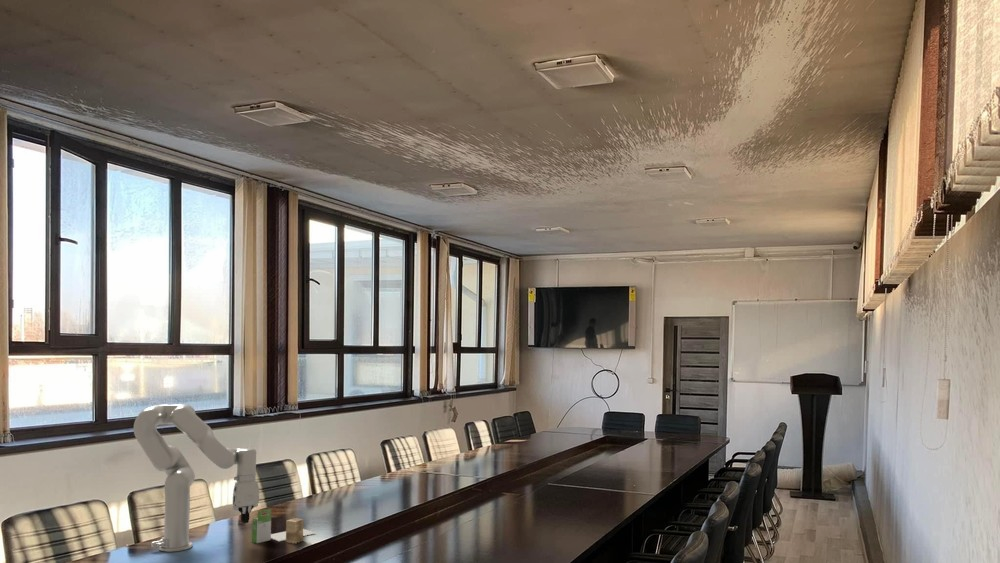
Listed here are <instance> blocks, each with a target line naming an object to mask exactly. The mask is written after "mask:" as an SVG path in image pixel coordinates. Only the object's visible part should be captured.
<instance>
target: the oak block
mask: <svg viewBox="0 0 1000 563" xmlns="http://www.w3.org/2000/svg"><path fill="white" fill-rule="evenodd" d="M285 525H286V526H285V531H286V540H285V542H286V543H289V544H294V543H295V544H298V543H300V541H301V542H303V541H304V537H303V529H304V519H302V518H297V517H294V518H291V519H286V523H285ZM297 542H298V543H297Z"/></svg>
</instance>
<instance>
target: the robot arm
mask: <svg viewBox="0 0 1000 563" xmlns="http://www.w3.org/2000/svg"><path fill="white" fill-rule="evenodd" d="M164 425H166V426H167V425H170V426H171V425H173V426H175V427H176V428H177V429H178V430H179V431H180V432H182V433H183V434H184V435H185V436H186V437H187V438H189V439H190V440H191V441H192V442H193V443H194V444H195V445H196V447H197V448H199V450H200V451H201V452H202V453H203V454H204V455H205V457H206V458H208V459H209V460H210V461H211V462H212V463H213V464H215V465H216V466H217V467H218V468H220V469H222V470H227V469H229V468H230V469H231V467H233V466H234V465H237V466H236V468H237V470H236V476H234V477H233V480H234V481H235V482H234V487H233V490H232V491H233V493H232V510H234V511H238V512H239V513H240V521H241V523H242V524H248V523H249V522H250V513H251V511H252V510H253V509H254V508H257V507H258V506H259V503H260V490H259V489H260V487H259V481H258V480H257V479H256V478H257V474H256V473H257V470H256V469H257V450H256V449H255V448H253V447H244V448H237V447H225V446H224V445H223V444H222V443H221V442H220V441H219V440H218V439H217V438H216V436H215V434H214V432H213V430H212V428H211V426H210V425H208V424H207V423H206V422H205V421H203V419H202V418H201V417H200V416H198V415H197V414H196V411H195V408H194V407H192V405H189V404H156V405H152V406H149V407H146V408H144V409H143V410H141V411H140V413H138V415H137V416H136V418H135V420H134V423H133V433H134V434H133V435H134V436H135V439H136V441H137V443H138V444H139V445H140V447H141V448H142V450H143V451H144V453H145V455H146V456H147V459H149V460H150V462H151V464H152V466H153V467H154V469H155V470H156V471H158V472H165V474H166V478H165V480H164V481H165V482H164V489H163V490H164V520H163V521H164V526H163V536H162V537H160V538H161V539H159V540H155V541H151V543H150V546H151V548H154V547H157V548H158V549H159V551H161V552H167V553H169V552H181V551H185V550H189V549H191V548H192V547H193V542H192V541H189V540H190V538H189V537H190V516H191V514H190V511H191V495H190V489H191V486H192V485H193V484H194V481H195V480H196V478H195V477H196V476H195V472H194V470H193V468H192V467H191V465H190V463H189V462H188V461H187V459H186V457H185V456H184V454H183V453H182V451H180V449H179V448H178V447H176V446H174V445H168V443H167V442H166V441H165V439H164V437H163V436H162V435H161V433H160V432H159V431H158V429H157V427H158V426H164Z"/></svg>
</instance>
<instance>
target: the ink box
mask: <svg viewBox="0 0 1000 563" xmlns="http://www.w3.org/2000/svg"><path fill="white" fill-rule="evenodd" d="M263 513H267V514H263ZM251 530H252V531H251V542H252V544H261V543H265V542H268V541H271V540H272V539H271V534H272V508H268V509H263V510H259V511H257V517H253V518H252V526H251Z"/></svg>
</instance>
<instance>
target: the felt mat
mask: <svg viewBox="0 0 1000 563" xmlns="http://www.w3.org/2000/svg"><path fill="white" fill-rule="evenodd" d="M315 533H316V532H314V531H311V530H308V529H306V528H303V536H304V537H308V536H307V535H309V536H312V535H311V534H314V535H316V534H315ZM271 540H274V541H277V542H278V543H280V542H284V541H285V542H286V530H285V531H280V532H276V533H271Z"/></svg>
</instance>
